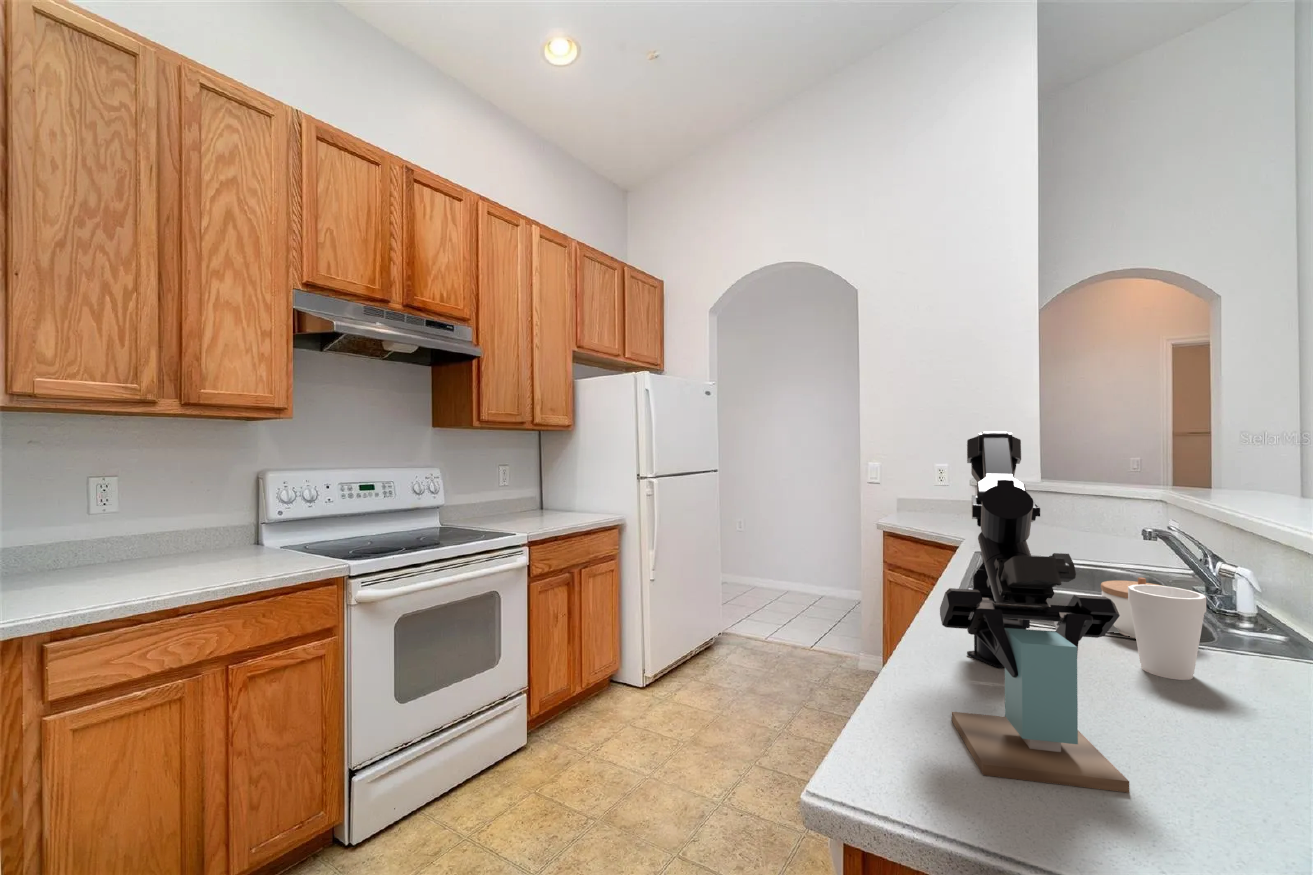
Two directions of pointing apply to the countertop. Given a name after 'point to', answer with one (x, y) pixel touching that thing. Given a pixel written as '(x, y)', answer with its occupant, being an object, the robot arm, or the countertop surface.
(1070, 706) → the teal rectangular prism
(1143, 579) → the lidded bowl
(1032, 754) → the post board
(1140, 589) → the foam cup
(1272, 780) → the countertop surface
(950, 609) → the robot arm
